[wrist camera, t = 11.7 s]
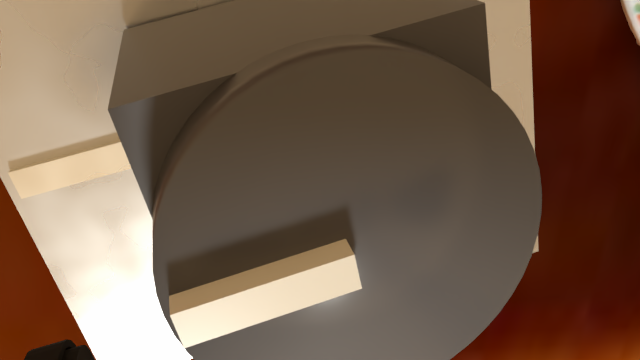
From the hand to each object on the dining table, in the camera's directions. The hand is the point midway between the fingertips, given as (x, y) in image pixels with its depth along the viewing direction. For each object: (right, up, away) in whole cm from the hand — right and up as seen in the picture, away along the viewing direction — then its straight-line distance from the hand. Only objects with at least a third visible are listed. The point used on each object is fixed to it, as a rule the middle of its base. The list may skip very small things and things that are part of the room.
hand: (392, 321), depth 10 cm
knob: (-2, +4, +7) cm, 8 cm away
